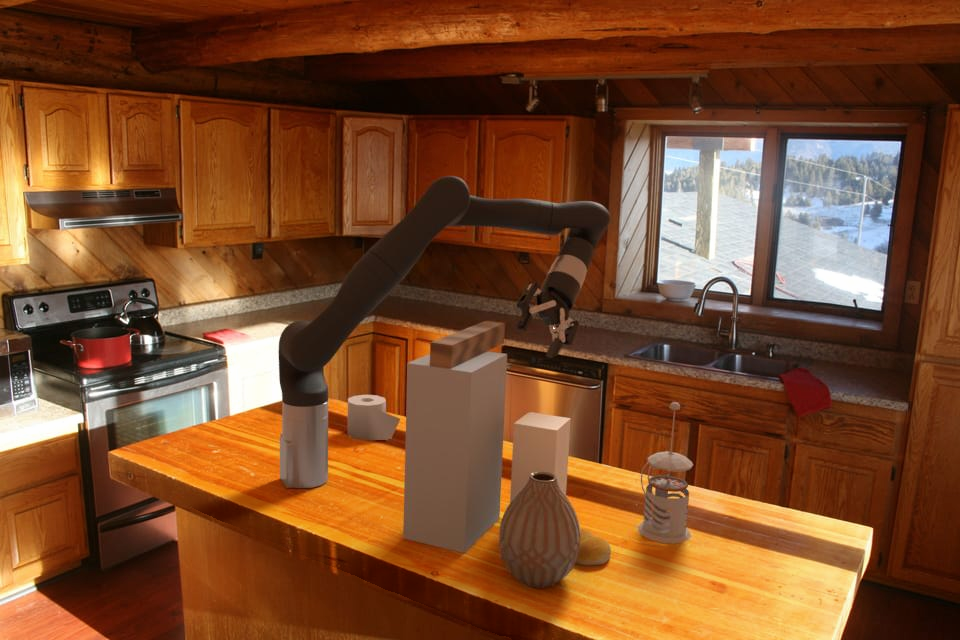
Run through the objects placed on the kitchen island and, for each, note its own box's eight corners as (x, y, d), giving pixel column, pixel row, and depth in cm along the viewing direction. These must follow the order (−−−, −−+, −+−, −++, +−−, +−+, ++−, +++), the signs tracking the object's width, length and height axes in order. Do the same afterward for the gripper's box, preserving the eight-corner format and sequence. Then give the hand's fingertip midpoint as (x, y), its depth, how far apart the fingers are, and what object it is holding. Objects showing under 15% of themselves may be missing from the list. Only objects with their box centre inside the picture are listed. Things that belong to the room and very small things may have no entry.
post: (550, 543, 145) (557, 430, 141) (508, 534, 148) (513, 423, 144) (563, 526, 152) (570, 418, 148) (523, 517, 155) (529, 411, 151)
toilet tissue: (396, 442, 195) (397, 407, 193) (342, 438, 196) (342, 403, 195) (404, 430, 204) (404, 397, 202) (352, 426, 205) (352, 393, 203)
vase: (555, 607, 123) (561, 499, 120) (481, 582, 130) (486, 478, 127) (591, 573, 134) (598, 473, 131) (521, 551, 141) (527, 455, 138)
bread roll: (589, 572, 135) (590, 550, 135) (550, 552, 142) (552, 530, 141) (621, 558, 141) (623, 537, 140) (583, 539, 147) (584, 519, 147)
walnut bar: (451, 368, 136) (451, 345, 135) (429, 365, 137) (430, 342, 137) (504, 343, 158) (505, 322, 157) (485, 340, 159) (485, 320, 158)
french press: (660, 547, 145) (672, 412, 140) (620, 521, 155) (630, 395, 151) (702, 537, 150) (715, 407, 145) (661, 513, 160) (671, 390, 155)
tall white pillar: (464, 553, 140) (471, 372, 134) (403, 538, 144) (407, 363, 139) (499, 518, 154) (507, 354, 148) (442, 506, 159) (447, 346, 153)
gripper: (573, 306, 174) (546, 367, 166) (528, 264, 168) (499, 325, 160) (598, 299, 168) (572, 362, 160) (553, 255, 163) (523, 318, 155)
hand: (535, 343), depth 160 cm, fingers open, 8 cm apart
